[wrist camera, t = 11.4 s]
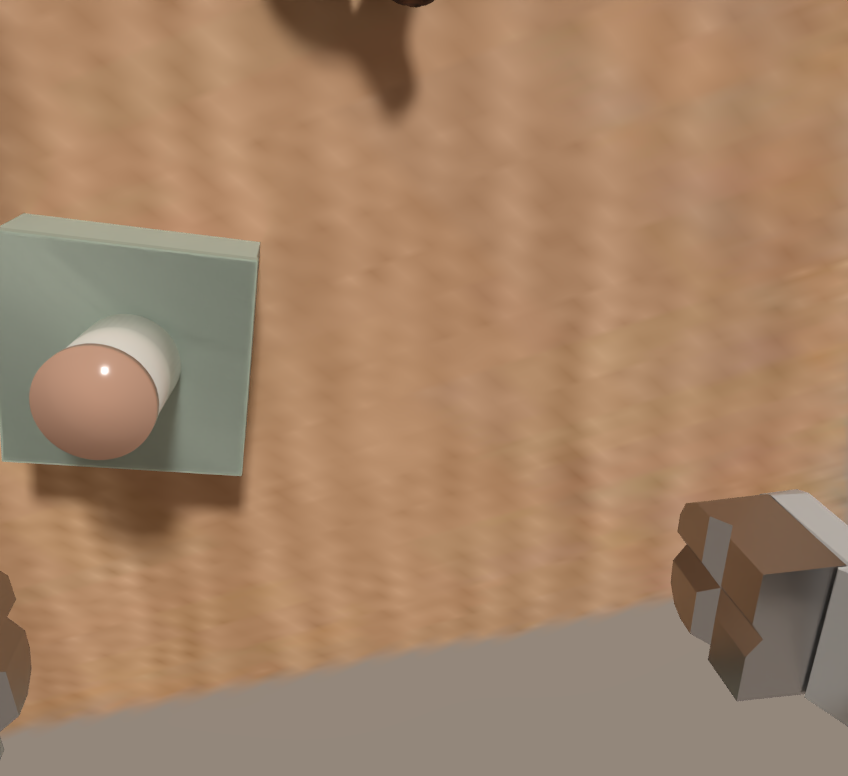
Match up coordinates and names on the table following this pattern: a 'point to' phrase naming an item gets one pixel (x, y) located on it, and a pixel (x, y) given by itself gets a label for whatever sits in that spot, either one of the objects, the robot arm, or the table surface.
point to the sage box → (139, 295)
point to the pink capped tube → (106, 387)
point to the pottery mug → (413, 2)
